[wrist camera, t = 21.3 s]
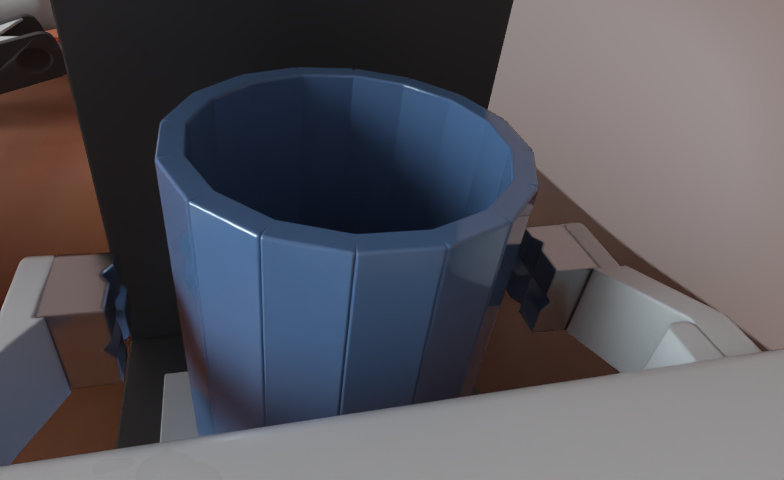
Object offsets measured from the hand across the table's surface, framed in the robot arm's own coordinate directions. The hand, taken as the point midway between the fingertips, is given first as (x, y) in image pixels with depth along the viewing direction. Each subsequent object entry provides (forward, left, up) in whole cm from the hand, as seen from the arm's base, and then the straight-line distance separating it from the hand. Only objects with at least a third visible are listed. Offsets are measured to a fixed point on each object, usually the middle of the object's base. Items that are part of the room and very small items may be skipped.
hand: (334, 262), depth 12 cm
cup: (0, 0, -7) cm, 7 cm away
